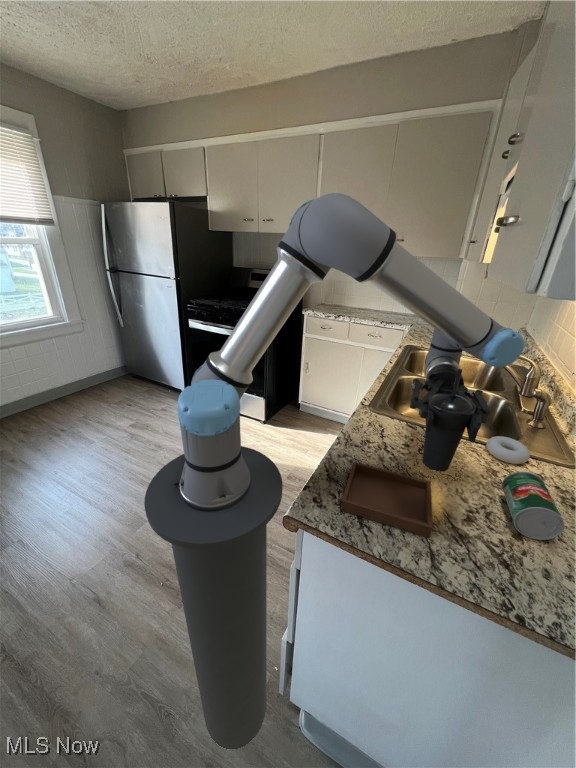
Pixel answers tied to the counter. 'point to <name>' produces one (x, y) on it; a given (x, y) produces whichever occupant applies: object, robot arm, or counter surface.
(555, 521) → the canned tomato
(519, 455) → the donut
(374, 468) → the tray
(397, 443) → the counter surface
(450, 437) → the drinking cup
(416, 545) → the counter surface
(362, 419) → the counter surface
